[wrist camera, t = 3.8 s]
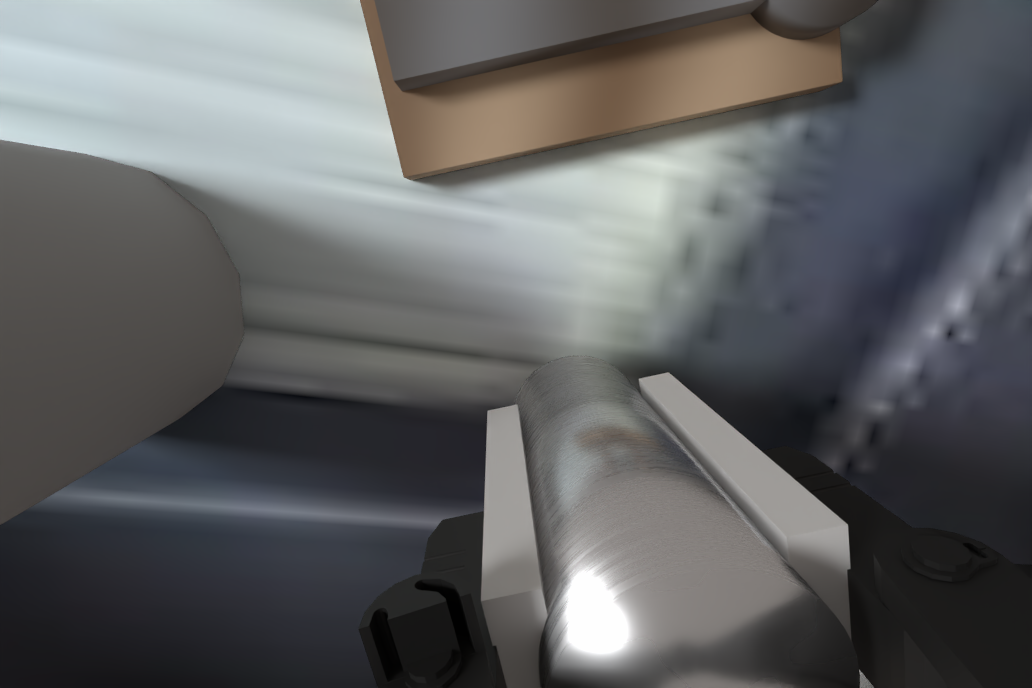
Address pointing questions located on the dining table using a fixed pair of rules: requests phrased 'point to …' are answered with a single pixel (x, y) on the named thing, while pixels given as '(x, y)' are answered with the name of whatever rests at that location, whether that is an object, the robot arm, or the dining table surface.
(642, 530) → the pin
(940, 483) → the dining table surface
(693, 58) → the peg rack
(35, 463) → the cup
